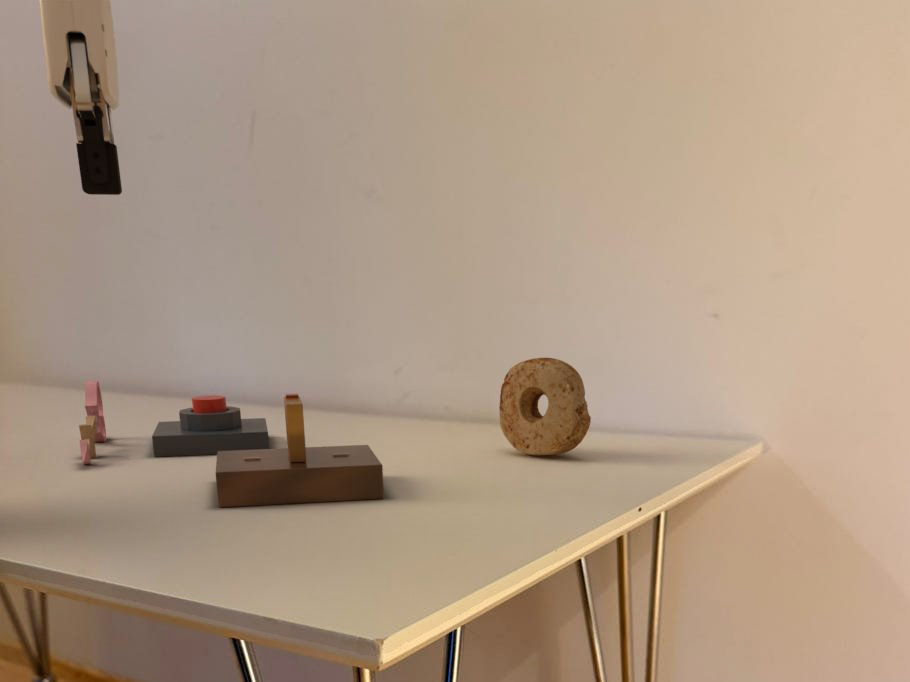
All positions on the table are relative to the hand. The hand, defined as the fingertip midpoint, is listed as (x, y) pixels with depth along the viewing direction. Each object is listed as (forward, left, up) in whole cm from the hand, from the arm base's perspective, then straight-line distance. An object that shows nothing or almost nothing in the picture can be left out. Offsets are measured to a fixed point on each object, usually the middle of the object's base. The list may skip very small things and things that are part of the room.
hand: (102, 193), depth 88 cm
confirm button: (+7, +12, -22) cm, 26 cm away
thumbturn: (+15, -13, -22) cm, 30 cm away
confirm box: (+7, +12, -25) cm, 29 cm away
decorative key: (-6, +11, -25) cm, 28 cm away
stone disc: (+41, -2, -25) cm, 48 cm away
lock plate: (+15, -13, -25) cm, 32 cm away
